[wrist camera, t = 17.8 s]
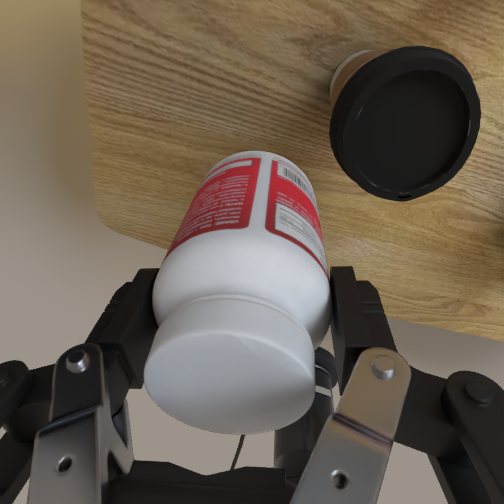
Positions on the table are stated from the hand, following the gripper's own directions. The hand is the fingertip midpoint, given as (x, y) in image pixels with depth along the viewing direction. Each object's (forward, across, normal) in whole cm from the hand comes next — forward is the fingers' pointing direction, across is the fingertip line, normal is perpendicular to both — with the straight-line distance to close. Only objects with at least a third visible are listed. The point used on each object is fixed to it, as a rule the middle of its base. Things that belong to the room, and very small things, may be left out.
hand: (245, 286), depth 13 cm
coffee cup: (+25, -8, -2) cm, 27 cm away
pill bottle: (+7, 0, 0) cm, 7 cm away
